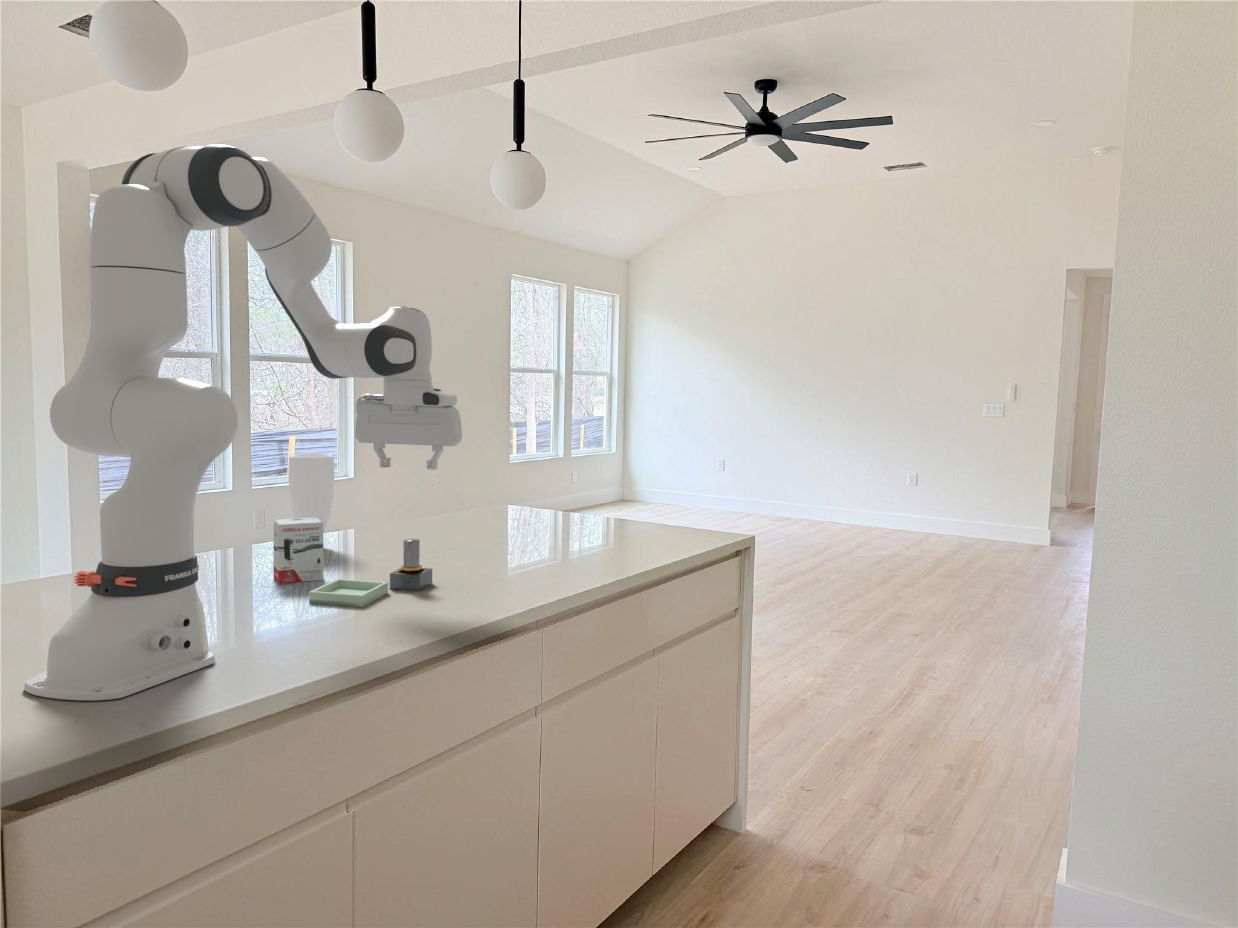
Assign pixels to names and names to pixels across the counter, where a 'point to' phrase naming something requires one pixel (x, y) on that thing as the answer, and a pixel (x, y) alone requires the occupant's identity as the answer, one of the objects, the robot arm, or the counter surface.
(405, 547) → the pin
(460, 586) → the counter surface
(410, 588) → the socket block
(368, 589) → the tray
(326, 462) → the cup
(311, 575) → the ink box
